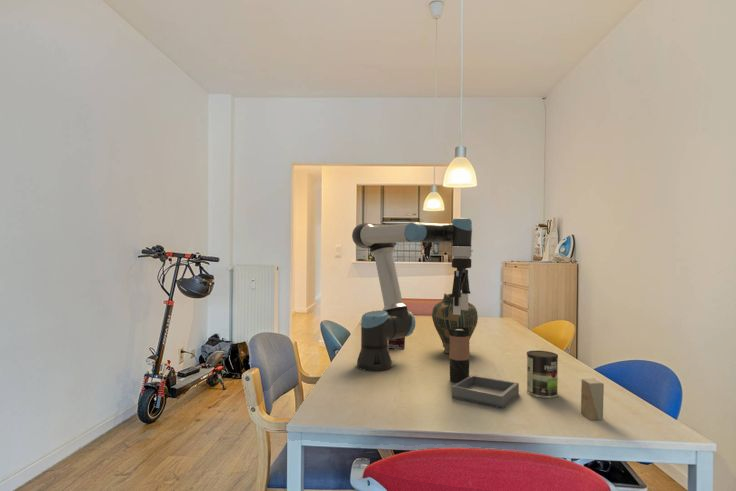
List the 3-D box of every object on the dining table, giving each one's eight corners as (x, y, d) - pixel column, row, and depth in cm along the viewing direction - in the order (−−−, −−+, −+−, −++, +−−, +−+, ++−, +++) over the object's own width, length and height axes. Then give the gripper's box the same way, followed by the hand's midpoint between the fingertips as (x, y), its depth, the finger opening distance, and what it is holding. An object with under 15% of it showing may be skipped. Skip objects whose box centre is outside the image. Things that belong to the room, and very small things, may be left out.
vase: (482, 358, 205) (482, 294, 205) (435, 357, 205) (435, 293, 206) (472, 347, 227) (472, 289, 227) (429, 347, 227) (429, 289, 228)
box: (580, 413, 135) (580, 378, 136) (593, 413, 136) (593, 377, 136) (590, 420, 130) (590, 383, 130) (604, 420, 131) (604, 383, 131)
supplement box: (388, 348, 223) (388, 317, 223) (388, 346, 228) (388, 316, 228) (405, 349, 222) (405, 318, 222) (405, 347, 227) (405, 316, 227)
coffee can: (564, 395, 153) (564, 355, 153) (543, 400, 148) (543, 358, 148) (540, 387, 162) (540, 349, 162) (520, 391, 157) (520, 351, 157)
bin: (451, 398, 149) (451, 386, 149) (471, 385, 164) (471, 374, 164) (502, 409, 139) (502, 396, 139) (518, 394, 153) (518, 383, 153)
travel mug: (469, 383, 165) (469, 330, 166) (449, 382, 167) (449, 330, 167) (469, 378, 173) (469, 327, 173) (449, 376, 174) (449, 326, 175)
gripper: (464, 258, 158) (463, 317, 158) (477, 257, 180) (476, 308, 180) (443, 258, 161) (443, 315, 161) (459, 257, 183) (458, 307, 183)
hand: (460, 312), depth 171 cm, fingers open, 13 cm apart
